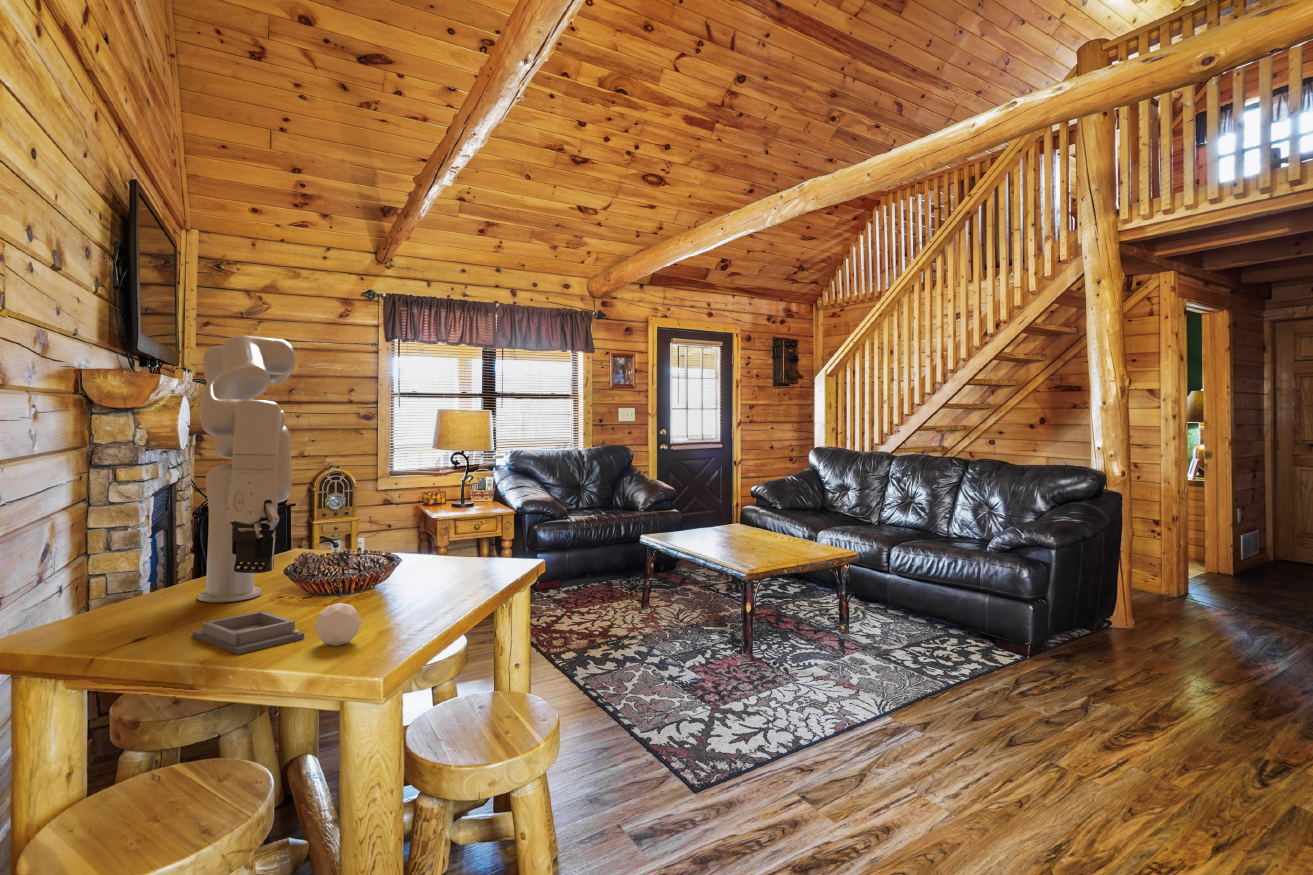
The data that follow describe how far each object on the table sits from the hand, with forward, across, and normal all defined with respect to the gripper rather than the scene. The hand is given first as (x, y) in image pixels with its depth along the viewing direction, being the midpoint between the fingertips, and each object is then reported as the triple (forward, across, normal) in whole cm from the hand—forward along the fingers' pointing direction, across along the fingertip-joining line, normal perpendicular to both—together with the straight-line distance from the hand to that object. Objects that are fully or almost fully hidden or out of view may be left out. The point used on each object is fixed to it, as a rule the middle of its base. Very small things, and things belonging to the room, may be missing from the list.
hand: (251, 555), depth 125 cm
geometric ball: (+16, +16, +8) cm, 24 cm away
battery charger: (+4, 0, 0) cm, 4 cm away
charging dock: (+16, 0, 0) cm, 16 cm away
